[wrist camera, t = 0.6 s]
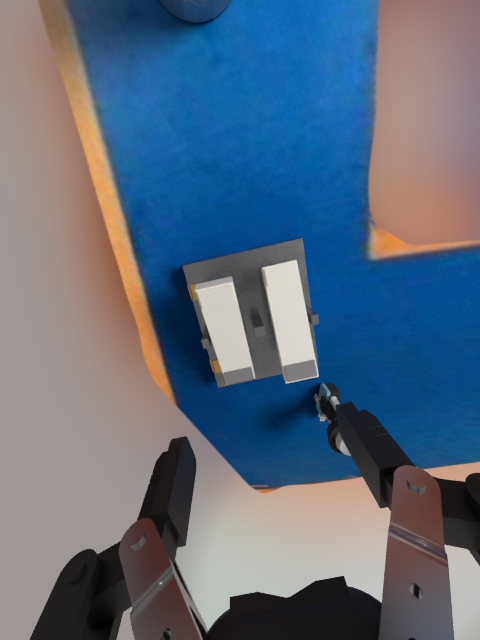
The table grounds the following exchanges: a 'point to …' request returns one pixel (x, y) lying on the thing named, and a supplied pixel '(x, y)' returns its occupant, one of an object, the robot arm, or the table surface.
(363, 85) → the table surface
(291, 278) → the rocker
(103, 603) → the robot arm
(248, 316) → the switch unit
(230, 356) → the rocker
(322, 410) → the push button
